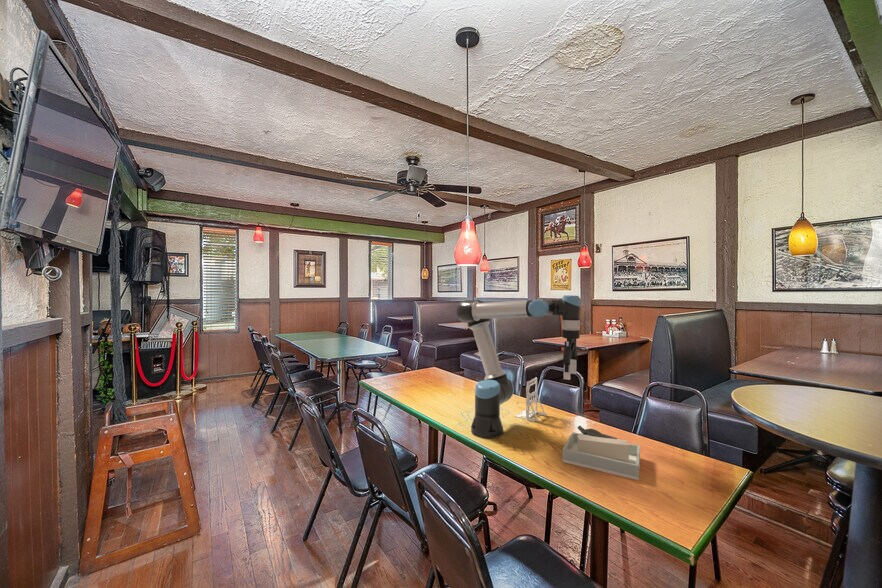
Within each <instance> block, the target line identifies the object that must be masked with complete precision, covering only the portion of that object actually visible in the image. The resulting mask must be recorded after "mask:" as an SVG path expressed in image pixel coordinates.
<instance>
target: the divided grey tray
mask: <svg viewBox="0 0 882 588" xmlns="http://www.w3.org/2000/svg"><path fill="white" fill-rule="evenodd" d="M578 435H584V434H582V433H578V432H573V431H572V432H571V433H570V435H569V437H568V438H567V441H566V442H565V444H564V446H563V448H562V459H561V460H562V461H561V462H562V463H565V464H569V465H575V466H578V467H582V468H587V469H590V470H591V469H592V470H595V471H598V472H603V473H608V474H611V475H614V476H618V477H623V478H628V479H632V480H637V481H639V480H640V479H639V477H640V463H641V445H638V444H633V443H629V442H627V443H628V445H629V461H624V460H616V459H610V458H605V457H601V456H596V455H592V454H587V453H583V452H578V450H577V440H578ZM585 436H589V435H585Z"/></svg>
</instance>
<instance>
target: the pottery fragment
mask: <svg viewBox="0 0 882 588" xmlns="http://www.w3.org/2000/svg"><path fill="white" fill-rule="evenodd" d="M577 430H578V431H579V432H580V434H584V435H589V436H594V437H602V438H611V439H618V438H617V437H614V436H611V435H608V434H604V433H602V432H600V431H598V430H597V429H595V428H583V426H582V425H578V426H577Z"/></svg>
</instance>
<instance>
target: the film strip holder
mask: <svg viewBox="0 0 882 588" xmlns="http://www.w3.org/2000/svg"><path fill="white" fill-rule="evenodd" d="M534 385H535V386H534ZM532 386H534V387H535V389H534V391H533V392H531V393H530V389H531V387H532ZM525 390H526V391H525V392H526V393H525V396H526V398H525V406H526V409H525V410H524V409H523V410H521V411H520V412H519V413H518V414H515V415H514V417H515V418H518V419H522V420H526V421H530V422H534V423H535V421H536V423H540V419H538V417H537V415H538V414H539V415H540V416H543V415H544V416H543V417H547V416H548V414H546V412H545V410H544V407H543V405H542V403H541V401H540V398H539V394H538V377H536V376H535V378H532V379H531V380H529V381H526V387H525ZM538 403H539V405H540V408H541V410H542V411H538ZM533 404H534V408H533ZM530 407H531V410H530ZM521 413H522V414H521ZM533 413H534V414H533ZM537 413H538V414H537ZM539 415H538V416H539ZM521 416H522V417H521ZM531 417H532V418H531ZM533 417H535V418H533Z"/></svg>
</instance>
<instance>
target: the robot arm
mask: <svg viewBox="0 0 882 588" xmlns="http://www.w3.org/2000/svg"><path fill="white" fill-rule="evenodd" d="M580 299H581V297H580V296H579V295H563V296H562V297H561V299H556V298H555V299H550V298H549V299H548V298H541V299H540V298H538V299H537V298H536V299H525V300H510V301H508V300H507V301H496V302H495V301H493V302H485V301H483V300H479V299H471V300H470V299H465V300H462V301H460V302H459V303H458V304H457V305H456V308H455V314H456V315H455V316H456V317H457V319H458V320H459V321H460V322H462V323H464V324H467V327H468V329H469V330H471V331H472V333H473V336H474V339H475V343H476V347H477V349H478V352H479V357H480V361H481V363H482V366H483V369H484V373H485V377H484V379H483V380H480V381H478V382H477V383H476V384H475V389H474V416H473V420H472V422H471V426H470V432H471V434H473V435H474V436H476V437H479V438H484V439H495V438H499V437H500V438H501V436H502V435H503V434H504V426H503V423H502V420H501V416H500V415H501V413H500V412H501V408H500V407H501V405H502V404H504V403H506V402H508V401H509V400H510V399H511V398H512V397H513V395H514V393H515V386H514V383H513V381H512V380H511V379H509V378H508V375H507V373H506V372H505V371H504V370H503V369H502V366H501V363H500V359H499V357H498V354H497V350H496V347H495V343H494V339H493V337H492V334H491V331H490V328H489V325H490V322H491V321H490V319H505V318H510V319H511V318H542V317H547V316H555V317H561V329H562V330H561V338H562V339H566V341H564V348H563V354H562V355H563V357H562V361H561V364H562V365H563V380H568V381H570V380H571V375H577V361H579V356H578V348H577V340H578V339H580V336H581V335H580V332H581V331H580V328H581V327H580V325H582V322H580V321H581V320H580V319H581V317H580V316H581V315H580V314H581V300H580Z"/></svg>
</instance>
